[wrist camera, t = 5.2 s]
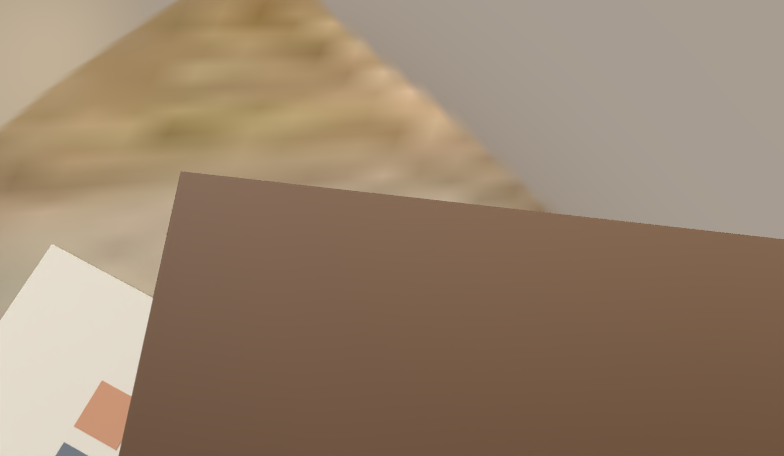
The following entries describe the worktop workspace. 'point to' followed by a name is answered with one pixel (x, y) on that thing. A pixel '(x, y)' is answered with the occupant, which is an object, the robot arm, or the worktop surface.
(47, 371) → the tile
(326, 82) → the worktop surface
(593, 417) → the walnut block
